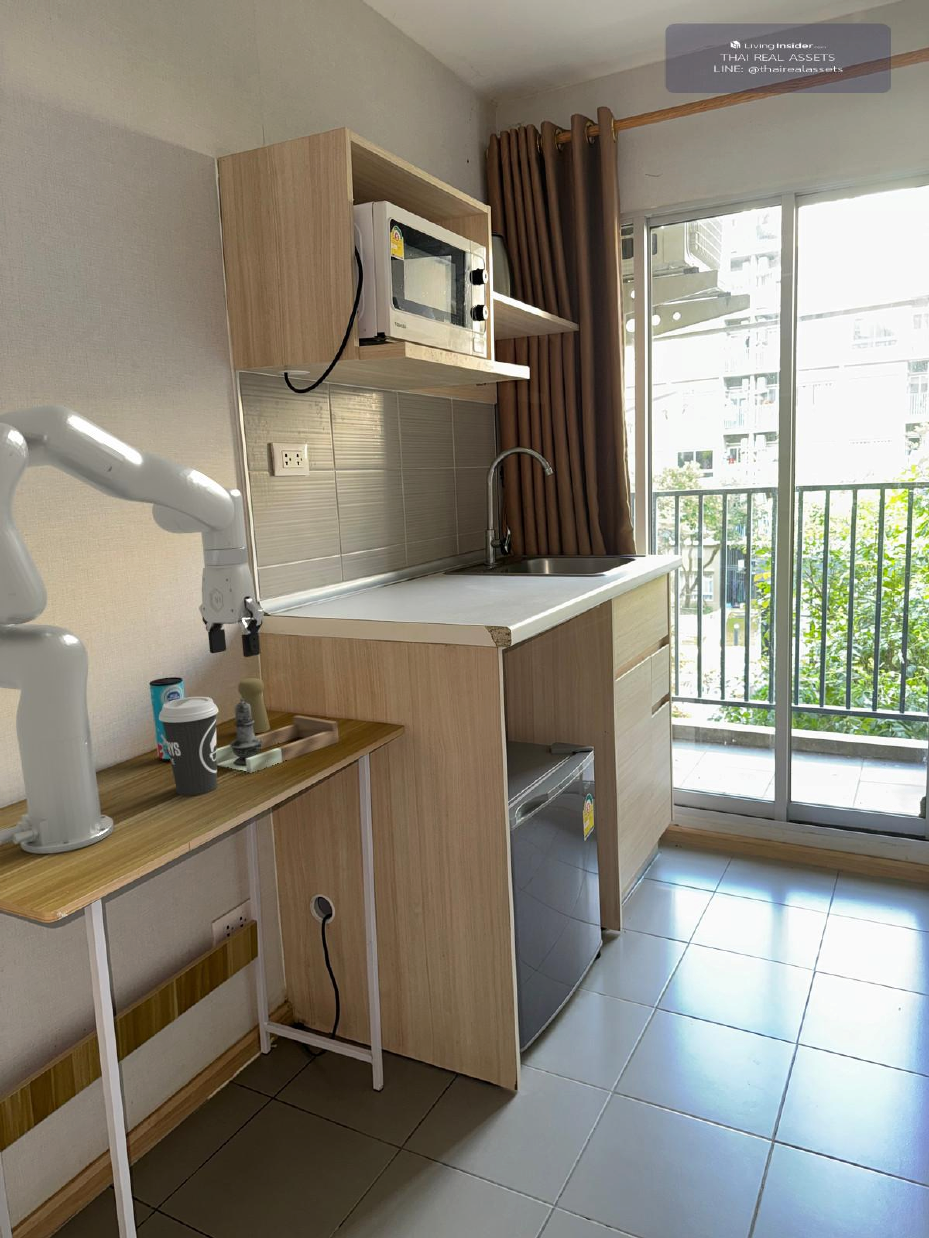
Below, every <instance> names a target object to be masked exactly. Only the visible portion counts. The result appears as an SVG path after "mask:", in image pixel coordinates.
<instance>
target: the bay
mask: <svg viewBox="0 0 929 1238" xmlns="http://www.w3.org/2000/svg"><path fill="white" fill-rule="evenodd" d="M338 727H339V726H338V721H334V720H328V719H321V718H317V717H316V718H315V717H310V716H305V715H298V714H297V715H294V716H293V723H292V724H290V725H287V726H284V727H280V728H278V729H274V730H271V731H269V732H268V731H267V732H264V733H260V734H257V735H255V737H256V738H259V739H262V740H263V742H262V743H261V750H263V749H266V748H269V746H270V747H274V746H276V745H279V744H281V743H285V742H288V741H290V740H293V739H297V738H302V739H299V740H296V741H293V742H291V743H287V744H284V745H281V746H279V747H276V748H273V749H269V750H267V751H264V752H261V753H258V754H257V755H255V756H252V757H249V758H246V766H236V765H234V763H233V762H234V761H235V760H236V759H238V758H240V757H238V756H236V755H235V754H234V753H233V751H232V747H230V744H227V745H225V746H222V747H219V748H218V747H217V748H216V751H217V766H219V767H222V768H227V767H229V768H228V769H231V768H232V770H235V769H236V771H240V770H243V771H242V772H244V771H246V772H245V773H248V772H249V774H253V773H252V772H254V773H256V772H258V771H257V770H259V771H262V770H265V769H267V768H270V767H273V766H275V764H276V765H278V764H277V763H279V764H281V763H284V762H286V761H285V760H287V761H289V760H293V759H295V758H298V757H300V756H303V755H306V754H309V753H312V752H315V751H317V750H320V749H322V748H326V747H328V746H331V745H334V744H336V743H339V742H340V741H339V728H338ZM278 743H279V744H278ZM283 761H284V762H283ZM272 765H273V766H272ZM266 767H267V768H266ZM264 768H265V769H264ZM255 771H256V772H255Z"/></svg>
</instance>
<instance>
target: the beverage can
mask: <svg viewBox="0 0 929 1238" xmlns="http://www.w3.org/2000/svg"><path fill="white" fill-rule="evenodd" d="M149 691H150V700H151V708H152V709H151V710H152V717H153V725H154V726H153V727H154V734H155V742H156V750H157V757H158V759H159V760H160V761H162V762H171V760H170V755H169V751H168V746H167V741H166V736H165V732H164V727H163V723H162V721H160V720H159V715H160V712H161V711H162V707H163V704H165V703H167V702H169V701H172V700H176V699H181V698H186V697H185V691H184V683H183V678H182V677H176V676H175V677H162V678H157V679H154V680H151V681H150V682H149Z"/></svg>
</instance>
